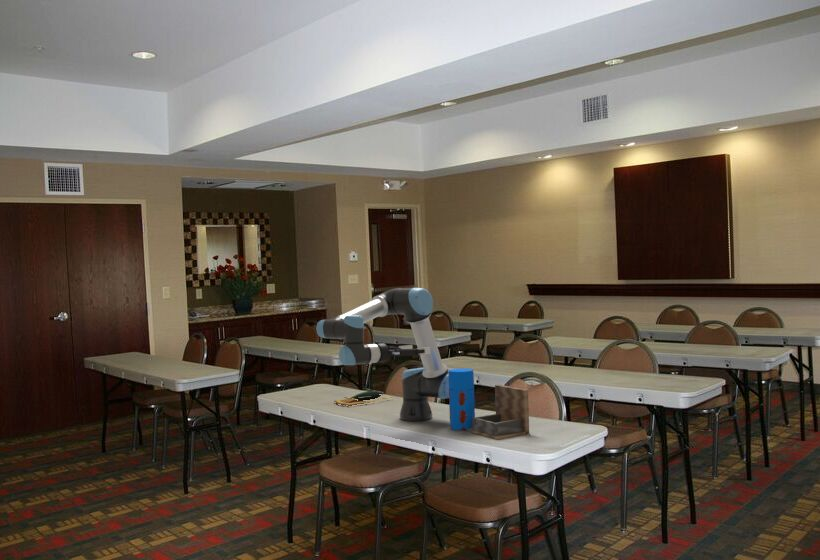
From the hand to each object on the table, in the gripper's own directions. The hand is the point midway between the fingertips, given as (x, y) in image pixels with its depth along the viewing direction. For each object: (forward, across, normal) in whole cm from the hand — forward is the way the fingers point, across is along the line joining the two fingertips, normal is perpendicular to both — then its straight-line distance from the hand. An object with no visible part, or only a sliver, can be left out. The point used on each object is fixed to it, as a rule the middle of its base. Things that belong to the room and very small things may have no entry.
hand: (420, 349), depth 294 cm
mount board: (+27, +17, -36) cm, 47 cm away
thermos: (+21, 0, -36) cm, 41 cm away
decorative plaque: (+19, -86, -36) cm, 95 cm away
